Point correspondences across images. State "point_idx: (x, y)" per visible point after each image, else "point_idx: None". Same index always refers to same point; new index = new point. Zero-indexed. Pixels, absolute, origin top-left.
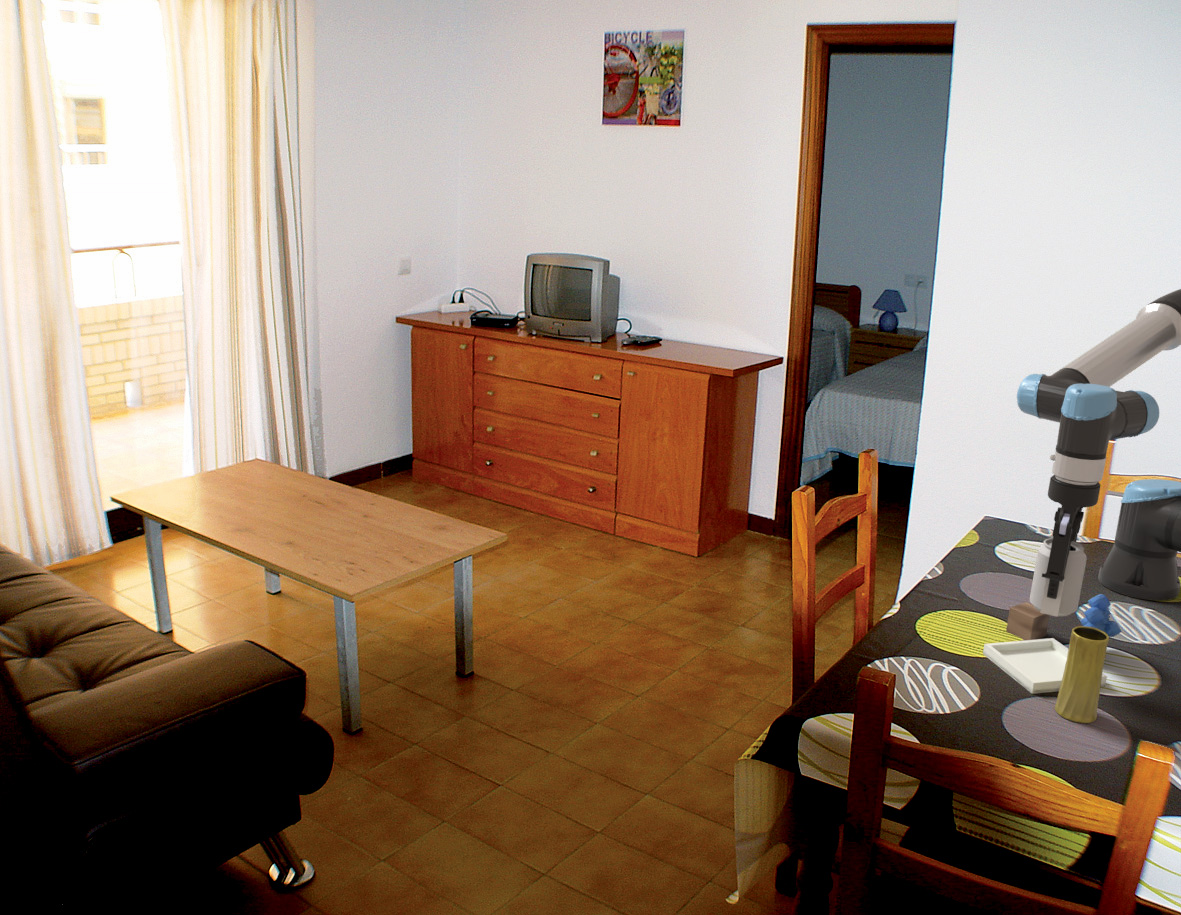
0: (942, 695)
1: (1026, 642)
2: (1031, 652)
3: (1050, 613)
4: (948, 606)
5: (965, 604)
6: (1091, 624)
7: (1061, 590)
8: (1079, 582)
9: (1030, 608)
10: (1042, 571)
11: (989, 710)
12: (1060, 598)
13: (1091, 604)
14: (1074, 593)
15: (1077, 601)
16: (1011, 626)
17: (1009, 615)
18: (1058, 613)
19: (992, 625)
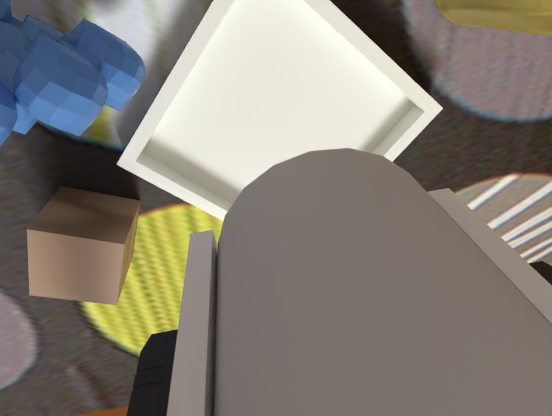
0: (520, 224)
1: (211, 203)
2: (215, 176)
3: None
4: (124, 361)
5: (79, 350)
6: (109, 75)
7: (548, 290)
8: (455, 271)
9: (62, 273)
10: None
11: (549, 141)
12: (513, 250)
13: (10, 131)
14: (443, 224)
15: (370, 175)
16: (130, 258)
17: (122, 286)
18: (437, 196)
19: (130, 283)
